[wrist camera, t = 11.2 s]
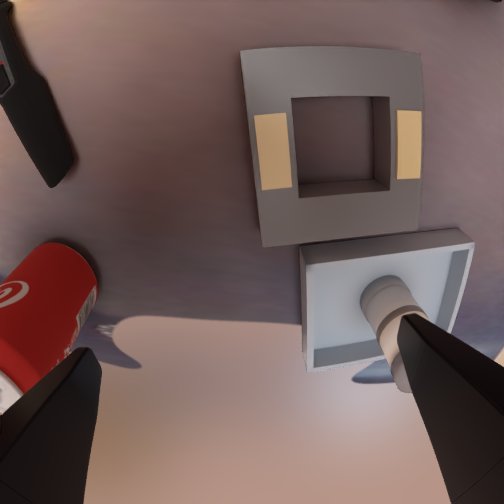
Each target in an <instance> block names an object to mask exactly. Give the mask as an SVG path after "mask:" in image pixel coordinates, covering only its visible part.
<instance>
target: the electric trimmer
mask: <svg viewBox="0 0 504 504" xmlns="http://www.w3.org/2000/svg"><path fill="white" fill-rule="evenodd" d="M11 7H12V2H8V1H7V0H0V104H1V106H2V107H3V109H4V111H5V113H6V115H7V116H8V118H9V120H10V122H11V124H12V126H13V128H14V130H15V131H16V133H17V135H18V137H19V139H20V140H21V142H22V144H23V146H24V147H25V149H26V151H27V152H28V154H29V156H30V158H31V159H32V161H33V163H34V164H35V166H36V167H37V169H38V171H39V172H40V174H41V176H42V177H43V179H44V180H45V182H46V183H47V185H48V186H49V187H50V188H53V187H55V186H56V185H57V184H58V183H59V182H60V181H61V180H62V179H63V177H64V176H65V175H66V173H67V172H68V170H69V169H70V167H71V166H72V164H73V161H74V157H73V154H72V152H71V149H70V147H69V144H68V142H67V139H66V137H65V134H64V132H63V129H62V126H61V124H60V121H59V118H58V116H57V113H56V110H55V107H54V105H53V102H52V99H51V97H50V94H49V91H48V88H47V86H46V83H45V81H44V79H43V78H42V77H41V76H39V75H38V74H36V73H34V72H33V71H32V70H31V69H30V68H29V67H28V65H27V62H26V60H25V58H24V56H23V53H22V51H21V48H20V46H19V44H18V41H17V39H16V36H15V34H14V31H13V29H12V26H11V23H10V21H9V18H8V14H7V13H8V11H9V9H10V8H11Z"/></svg>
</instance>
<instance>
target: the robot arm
mask: <svg viewBox="0 0 504 504" xmlns="http://www.w3.org/2000/svg"><path fill="white" fill-rule="evenodd" d="M492 1H495V2H501V1H502V0H492ZM397 344H398V348H399V351H400V354H401V357H402V361H403V364H404V368H405V371H406V375H407V378H408V382H409V385H410V388H411V391H412V393H413V396H414V398H415V401H416V403H417V406H418V408H419V411H420V414H421V416H422V419H423V421H424V424H425V427H426V429H427V432H428V435H429V437H430V440H431V443H432V446H433V449H434V452H435V455H436V458H437V461H438V463H439V466H440V470H441V473H442V476H443V479H444V482H445V485H446V488H447V491H448V495H449V498H450V502H451V504H504V367H503V366H501V365H500V364H498V363H496V362H495V361H493V360H492V359H490V358H489V357H487V356H485V355H484V354H482V353H481V352H479V351H477V350H476V349H474V348H473V347H471V346H469V345H468V344H466V343H464V342H463V341H461V340H460V339H458V338H456V337H455V336H453V335H451V334H450V333H448V332H447V331H445V330H443V329H442V328H440V327H438V326H437V325H435V324H433V323H432V322H430V321H428V320H427V319H425V318H423V317H422V316H420V315H418V314H416V313H411V314H406V315H403V316H402V317H401V320H400V325H399V329H398V334H397ZM101 377H102V369H101V366H100V364H99V362H98V360H97V358H96V357H95V355H94V353H93V351H92V350H91V349H90V348H88V347H79V348H77V349H75V350H74V351H73V352H72V353H71V354H69V355H68V356H67V357H66V358H65V359H64V360H62V361H61V362H60V363H59V364H58V365H57V366H55V367H54V368H53V369H52V370H51V371H50V372H49V373H47V374H46V375H45V376H44V377H43V378H42V379H41V380H39V381H38V382H37V383H36V384H35V385H34V386H33V387H31V388H30V389H29V390H28V391H27V392H26V393H25V394H24V395H22V396H21V397H20V398H19V399H18V400H17V401H16V402H15V403H14V404H12V405H11V406H10V407H9V408H8V409H7V410H6V411H5V412H4V413H3V415H0V504H83V503H84V494H85V486H86V479H87V471H88V465H89V459H90V453H91V447H92V441H93V436H94V430H95V425H96V419H97V413H98V404H99V394H100V385H101Z"/></svg>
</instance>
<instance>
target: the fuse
mask: <svg viewBox="0 0 504 504" xmlns="http://www.w3.org/2000/svg"><path fill="white" fill-rule="evenodd" d="M360 308H361V310H362V312H363V314H364V316H365V318H366V320H367V321H368V323H370V325H371V328H372V330H373V332H374V334H375V336H376V339H377V342H378V344H379V346H380V348H381V349H382V351H383V353H384V355H385V357H386V359H387V361H388V363H389V366H390V368H391V374H392V376H393V378H394V381H395V383H396V385H397V387H398V389H399V390H400V391H401V392H405V393H412V391H411V388H410V385H409V382H408V378H407V375H406V371H405V368H404V364H403V361H402V357H401V354H400V351H399V348H398V344H397V334H398V329H399V325H400V320H401V317H402V316H403V315H406V314H411V313H416V314H418V315H420V316H422V317H423V318H425V319H427V320H428V321H430V320H429V318H428V316H427V315H426V313H425V312H424V310H423V309H422V308H421V307H420V306H419V304H418V303H417V302H416V300H415V299H414V297H413V296H412V294H411V291H410V290H409V288H408V287H407V285H406V284H405V283H404V281H403V280H402V279H401V278H399V277H398V276H394V275H385V276H382V277H379V278H377V279H375V280H373V281H372V282H371V283H370V284H368V286H367V287H366V288H365V289H364V291H363V292H362V294H361V297H360Z"/></svg>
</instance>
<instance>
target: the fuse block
mask: <svg viewBox="0 0 504 504" xmlns="http://www.w3.org/2000/svg"><path fill="white" fill-rule="evenodd" d="M240 62H241V70H242V79H243V87H244V95H245V104H246V112H247V121H248V129H249V138H250V147H251V155H252V164H253V173H254V182H255V191H256V200H257V209H258V218H259V227H260V234H261V241H262V247H263V248H265V247H274V246H282V245H291V244H300V243H308V242H317V241H326V240H334V239H343V238H352V237H361V236H369V235H378V234H387V233H396V232H405V231H414V230H418V225H419V216H420V205H421V193H422V178H423V156H424V101H423V80H422V66H421V54H420V53H416V52H408V51H400V50H390V49H379V48H365V47H343V46H298V47H276V48H262V49H250V50H241V51H240ZM318 96H372V99H373V120H374V179H367V180H353V181H339V182H327V183H315V184H304V185H298V179H297V165H296V152H295V139H294V127H293V116H292V105H291V98H297V97H318Z"/></svg>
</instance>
